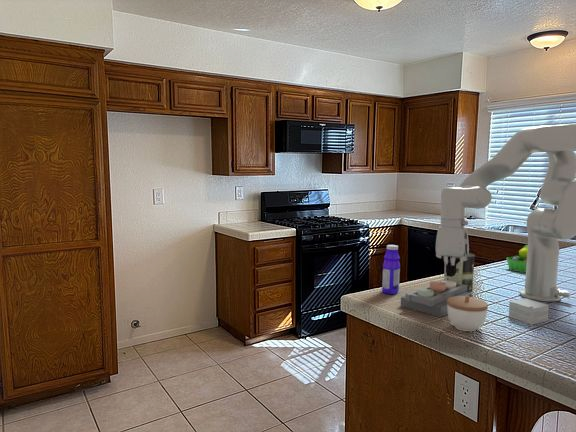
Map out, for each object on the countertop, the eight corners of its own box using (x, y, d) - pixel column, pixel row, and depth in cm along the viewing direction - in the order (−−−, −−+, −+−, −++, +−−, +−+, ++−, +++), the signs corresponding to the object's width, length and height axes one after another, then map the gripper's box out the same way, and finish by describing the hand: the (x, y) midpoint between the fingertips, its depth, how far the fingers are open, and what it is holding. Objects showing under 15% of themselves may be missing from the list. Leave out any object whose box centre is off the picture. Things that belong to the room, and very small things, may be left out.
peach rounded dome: (447, 291, 142) (448, 283, 141) (440, 294, 138) (441, 285, 138) (433, 288, 145) (434, 280, 145) (426, 291, 142) (427, 282, 141)
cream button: (458, 290, 147) (458, 281, 147) (451, 293, 144) (452, 284, 143) (444, 287, 151) (445, 279, 151) (437, 289, 147) (438, 281, 147)
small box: (523, 313, 134) (524, 297, 134) (548, 321, 127) (549, 304, 127) (507, 317, 131) (508, 300, 130) (532, 325, 124) (533, 308, 123)
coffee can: (469, 288, 161) (471, 251, 160) (475, 296, 151) (477, 257, 150) (440, 286, 163) (442, 250, 162) (445, 294, 153) (447, 256, 152)
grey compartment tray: (473, 300, 146) (474, 286, 145) (438, 318, 129) (439, 302, 128) (435, 292, 156) (435, 278, 155) (398, 307, 139) (398, 292, 138)
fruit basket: (504, 268, 194) (506, 244, 193) (517, 266, 198) (519, 242, 196) (527, 274, 184) (529, 248, 182) (540, 272, 187) (542, 247, 186)
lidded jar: (483, 338, 114) (485, 304, 113) (441, 329, 119) (443, 297, 118) (488, 325, 123) (490, 294, 122) (449, 318, 128) (451, 288, 127)
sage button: (436, 299, 136) (436, 290, 136) (428, 303, 133) (428, 293, 133) (421, 296, 140) (422, 287, 140) (414, 299, 136) (414, 290, 136)
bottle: (386, 288, 160) (387, 243, 158) (400, 291, 157) (402, 244, 155) (379, 293, 154) (381, 246, 152) (395, 296, 151) (396, 247, 149)
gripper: (478, 224, 142) (477, 277, 144) (436, 220, 153) (435, 270, 155) (469, 226, 137) (467, 281, 139) (426, 222, 148) (425, 274, 150)
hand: (450, 275), depth 147 cm, fingers closed
